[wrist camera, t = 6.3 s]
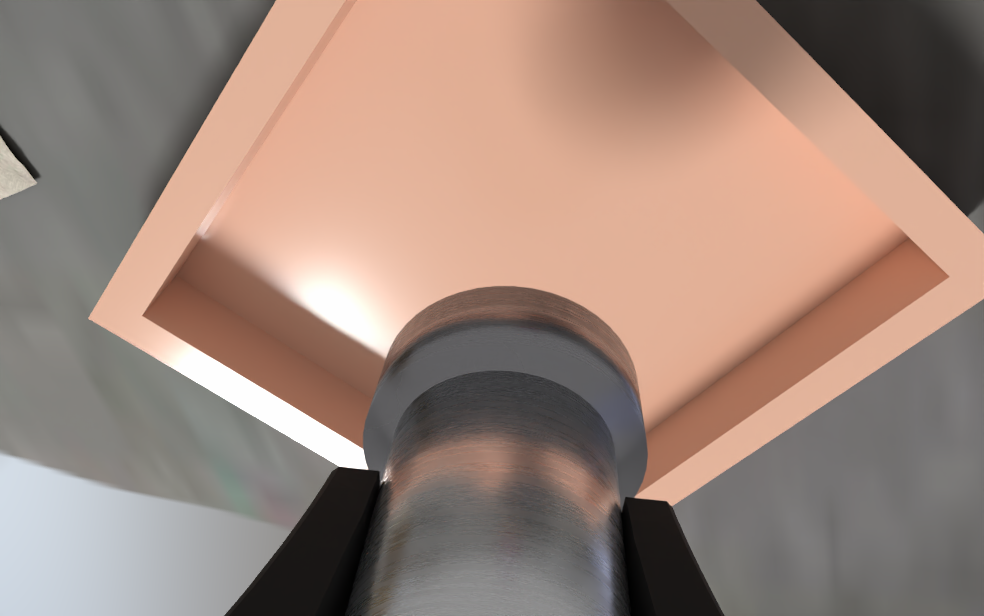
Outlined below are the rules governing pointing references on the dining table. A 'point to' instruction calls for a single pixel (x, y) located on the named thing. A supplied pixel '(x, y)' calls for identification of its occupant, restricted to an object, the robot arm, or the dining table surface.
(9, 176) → the condiment
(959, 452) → the dining table surface
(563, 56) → the dish
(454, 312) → the grey cylinder
